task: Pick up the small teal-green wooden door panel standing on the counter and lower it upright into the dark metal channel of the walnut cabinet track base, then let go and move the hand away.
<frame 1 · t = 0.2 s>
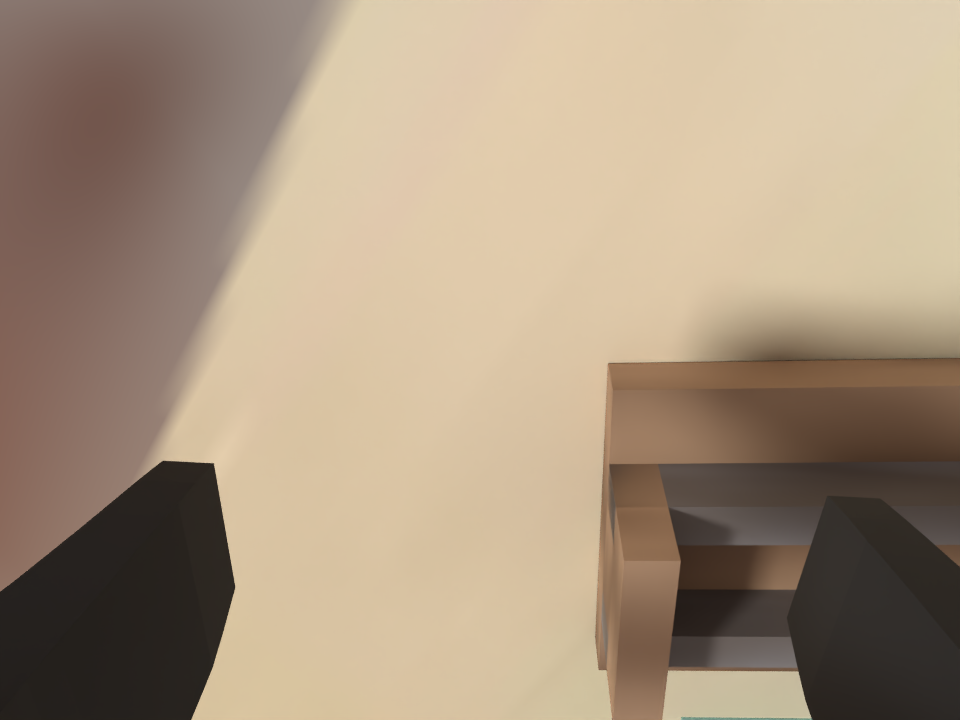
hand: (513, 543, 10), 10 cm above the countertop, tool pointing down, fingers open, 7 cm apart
track base: (932, 514, 22), on the countertop
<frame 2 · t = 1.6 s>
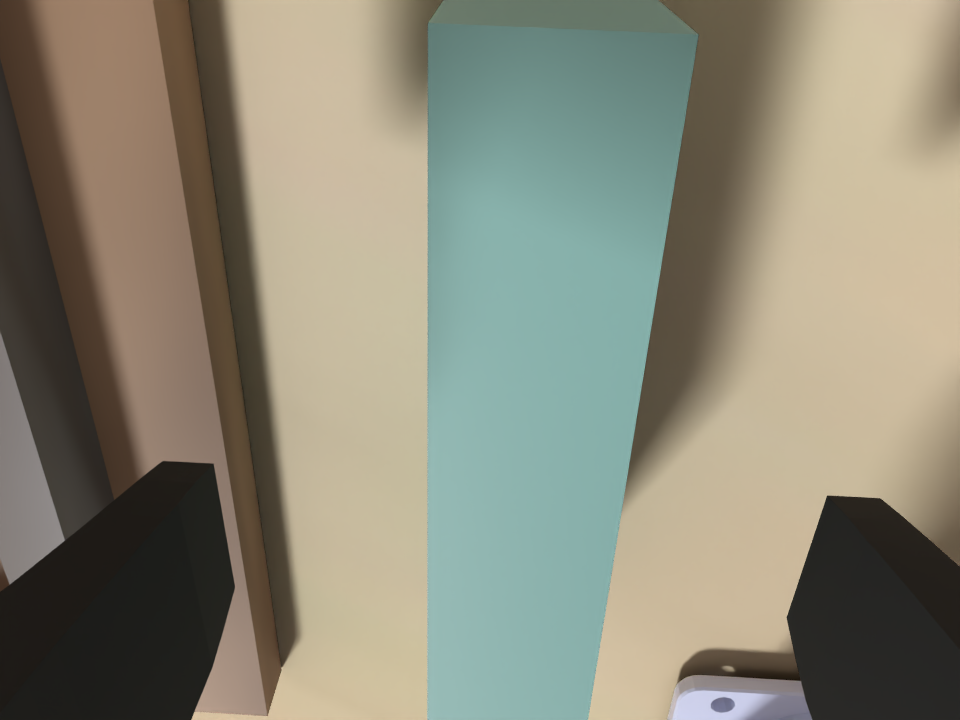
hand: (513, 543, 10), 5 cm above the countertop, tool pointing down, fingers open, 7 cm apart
door panel: (518, 340, 14), on the countertop
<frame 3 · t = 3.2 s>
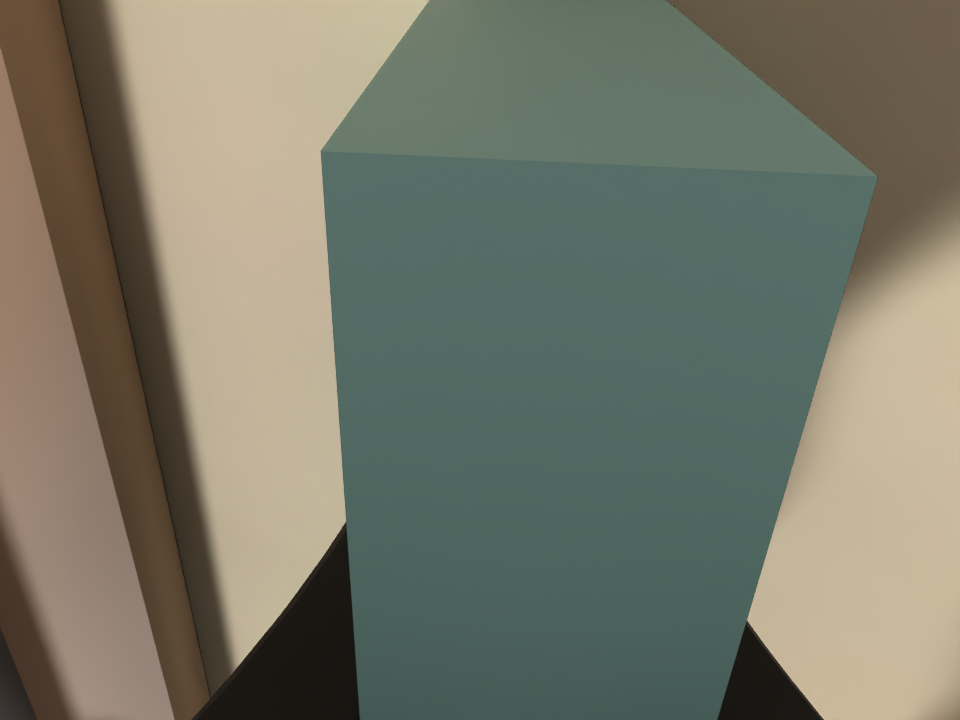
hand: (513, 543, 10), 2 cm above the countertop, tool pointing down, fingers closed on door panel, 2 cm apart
door panel: (513, 457, 11), on the countertop, touching gripper
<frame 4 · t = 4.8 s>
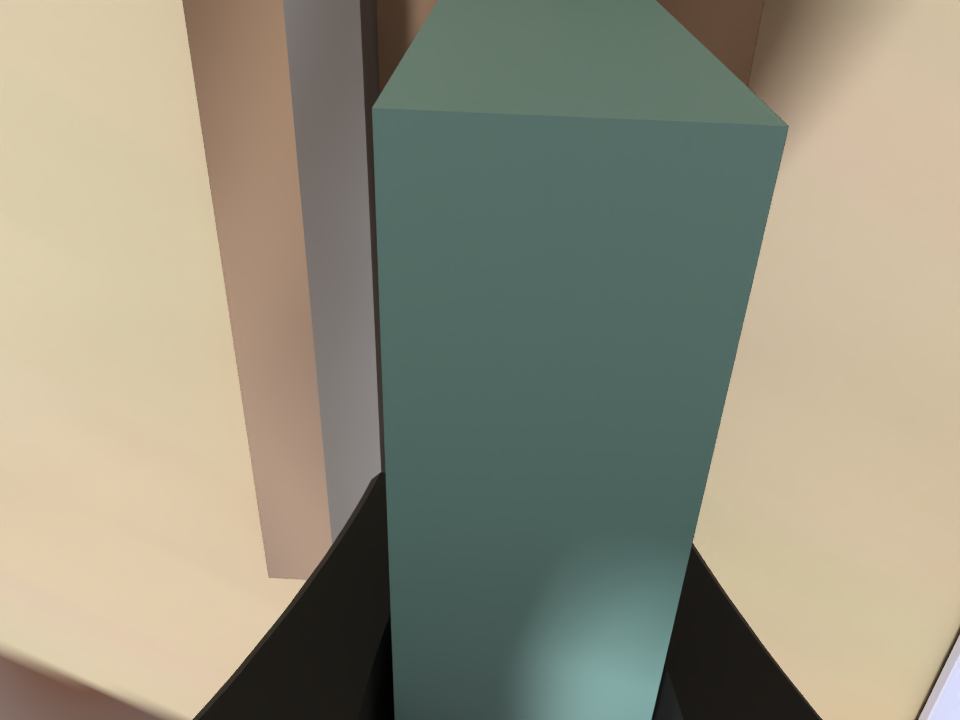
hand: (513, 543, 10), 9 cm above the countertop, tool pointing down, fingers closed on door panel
door panel: (514, 415, 12), point 6 cm above the countertop, touching gripper
track base: (467, 251, 17), on the countertop
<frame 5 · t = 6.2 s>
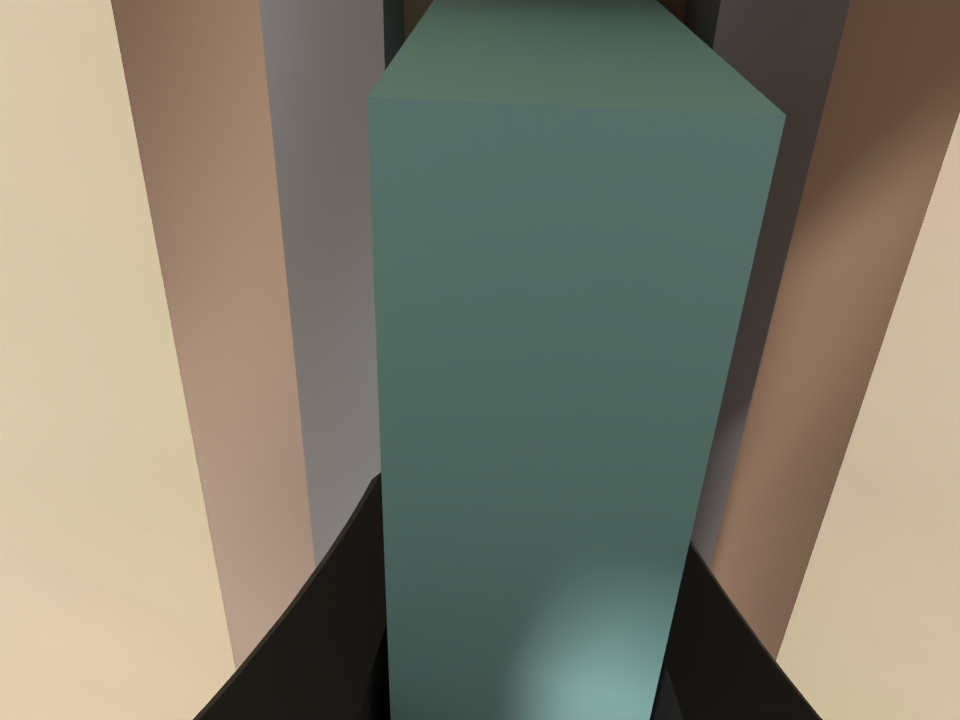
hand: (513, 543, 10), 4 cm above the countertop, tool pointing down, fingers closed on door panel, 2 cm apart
door panel: (513, 416, 12), point 1 cm above the countertop, touching gripper, track base
track base: (516, 372, 13), on the countertop
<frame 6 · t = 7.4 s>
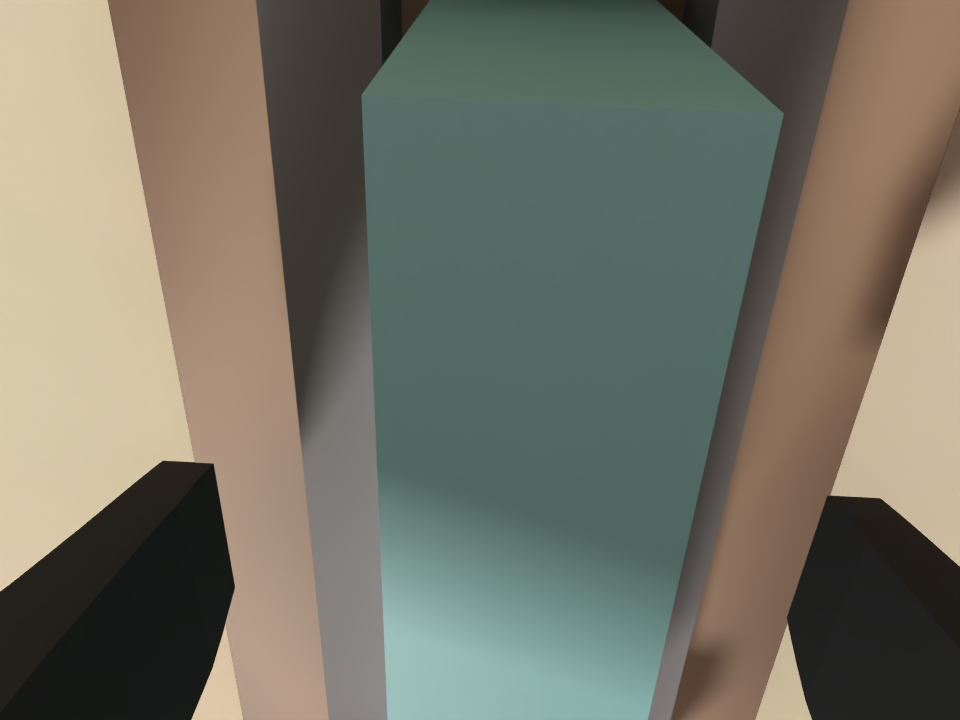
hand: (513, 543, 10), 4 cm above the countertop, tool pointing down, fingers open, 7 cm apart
door panel: (512, 416, 12), point 1 cm above the countertop, touching track base
track base: (514, 372, 13), on the countertop
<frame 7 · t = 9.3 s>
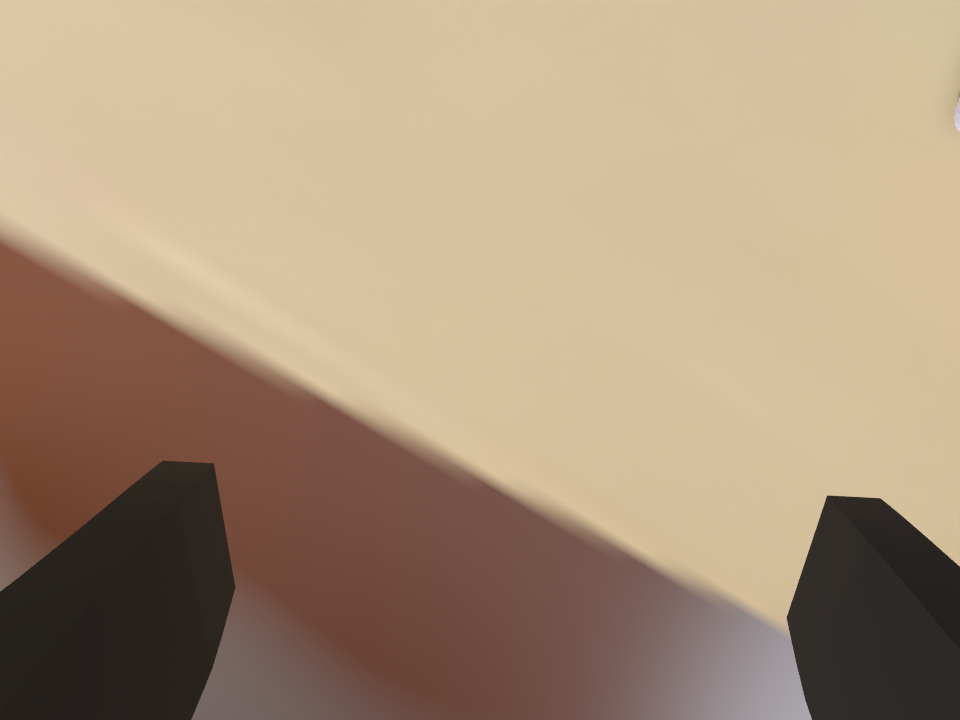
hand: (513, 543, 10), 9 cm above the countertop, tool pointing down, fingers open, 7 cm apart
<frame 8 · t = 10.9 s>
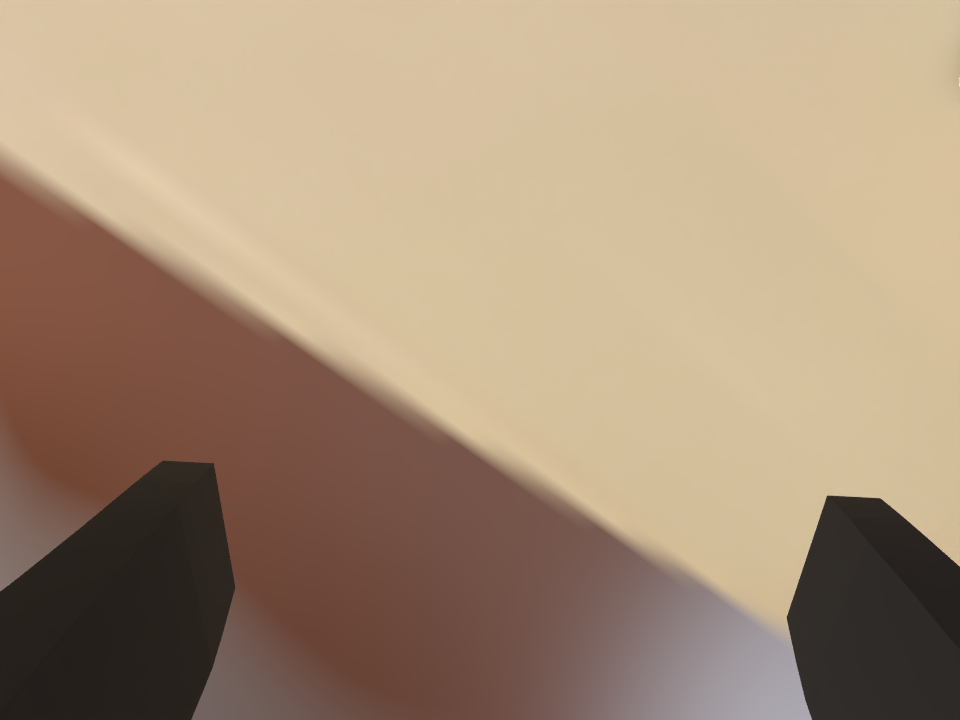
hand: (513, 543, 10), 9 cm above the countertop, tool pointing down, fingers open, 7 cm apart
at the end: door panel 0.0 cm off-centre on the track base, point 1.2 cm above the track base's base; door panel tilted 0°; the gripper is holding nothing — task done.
